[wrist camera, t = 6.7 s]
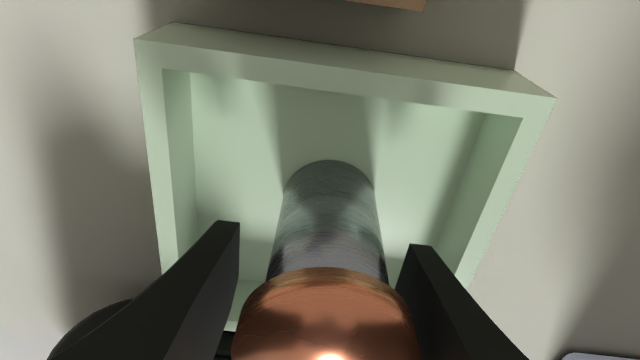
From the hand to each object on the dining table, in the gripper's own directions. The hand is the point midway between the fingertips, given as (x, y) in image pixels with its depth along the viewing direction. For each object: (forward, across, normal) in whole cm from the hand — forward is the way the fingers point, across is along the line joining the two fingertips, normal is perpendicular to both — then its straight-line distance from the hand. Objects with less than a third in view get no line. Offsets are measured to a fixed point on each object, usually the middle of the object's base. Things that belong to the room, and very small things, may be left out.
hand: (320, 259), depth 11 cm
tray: (+4, 0, 0) cm, 4 cm away
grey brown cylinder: (+3, 0, 0) cm, 3 cm away
